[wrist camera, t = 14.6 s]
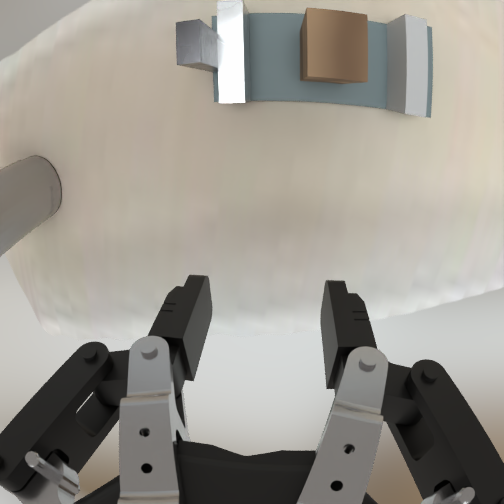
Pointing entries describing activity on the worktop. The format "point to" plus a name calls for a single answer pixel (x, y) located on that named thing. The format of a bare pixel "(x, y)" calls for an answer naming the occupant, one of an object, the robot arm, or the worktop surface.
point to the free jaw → (220, 49)
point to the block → (334, 47)
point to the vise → (362, 94)
